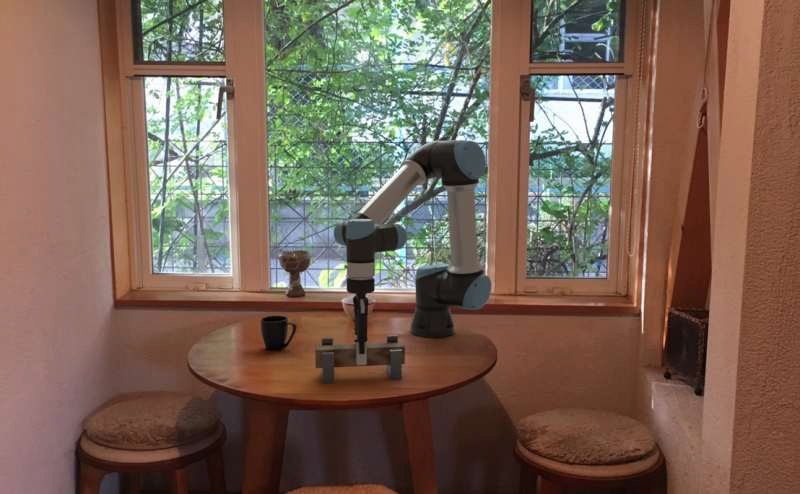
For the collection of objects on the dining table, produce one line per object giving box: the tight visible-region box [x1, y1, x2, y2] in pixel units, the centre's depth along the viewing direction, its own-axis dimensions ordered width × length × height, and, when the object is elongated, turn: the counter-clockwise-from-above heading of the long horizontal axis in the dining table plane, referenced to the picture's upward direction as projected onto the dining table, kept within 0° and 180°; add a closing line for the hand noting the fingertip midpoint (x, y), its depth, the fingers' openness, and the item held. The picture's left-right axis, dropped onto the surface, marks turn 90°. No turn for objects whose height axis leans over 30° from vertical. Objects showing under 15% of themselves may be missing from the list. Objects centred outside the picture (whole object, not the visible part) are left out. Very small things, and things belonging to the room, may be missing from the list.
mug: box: [260, 315, 298, 352], centre depth 194 cm, size 8×12×10 cm
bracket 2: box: [386, 334, 403, 381], centre depth 171 cm, size 3×8×10 cm, turn 8°
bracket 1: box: [321, 337, 335, 384], centre depth 169 cm, size 3×8×10 cm, turn 8°
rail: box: [314, 341, 406, 369], centre depth 170 cm, size 24×4×5 cm, turn 98°
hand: (360, 361), depth 170 cm, fingers closed on rail, 4 cm apart
